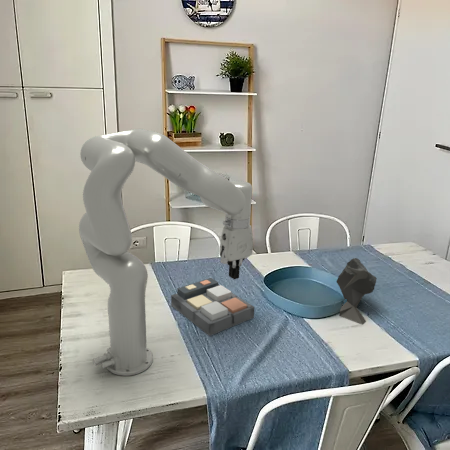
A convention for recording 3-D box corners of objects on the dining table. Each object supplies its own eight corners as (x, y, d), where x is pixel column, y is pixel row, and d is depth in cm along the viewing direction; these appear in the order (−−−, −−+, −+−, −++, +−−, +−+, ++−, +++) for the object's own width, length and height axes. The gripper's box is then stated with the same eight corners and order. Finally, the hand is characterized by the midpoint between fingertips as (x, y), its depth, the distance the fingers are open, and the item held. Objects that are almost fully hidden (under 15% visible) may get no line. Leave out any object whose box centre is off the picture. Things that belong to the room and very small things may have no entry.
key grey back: (217, 304, 144) (217, 296, 143) (206, 297, 148) (206, 289, 147) (231, 299, 147) (231, 291, 146) (220, 292, 152) (220, 285, 151)
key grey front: (212, 323, 133) (212, 314, 132) (200, 314, 137) (201, 306, 136) (227, 317, 137) (227, 308, 136) (216, 309, 141) (216, 301, 140)
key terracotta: (232, 318, 138) (232, 310, 137) (220, 310, 143) (221, 302, 142) (246, 313, 142) (247, 304, 141) (234, 305, 146) (235, 297, 145)
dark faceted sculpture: (380, 306, 152) (388, 259, 146) (362, 324, 141) (370, 274, 135) (342, 293, 160) (348, 248, 154) (322, 309, 149) (328, 261, 143)
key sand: (197, 315, 139) (197, 307, 138) (186, 307, 144) (186, 299, 143) (212, 309, 143) (212, 301, 142) (201, 302, 147) (201, 294, 146)
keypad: (209, 336, 132) (209, 316, 130) (171, 305, 148) (171, 288, 146) (253, 317, 142) (254, 299, 140) (213, 291, 159) (214, 274, 156)
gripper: (225, 229, 124) (222, 287, 130) (263, 221, 133) (259, 276, 139) (210, 222, 130) (207, 278, 136) (247, 215, 139) (243, 268, 145)
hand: (233, 277), depth 137 cm, fingers closed
